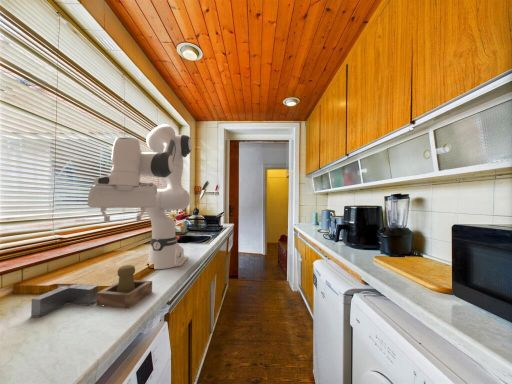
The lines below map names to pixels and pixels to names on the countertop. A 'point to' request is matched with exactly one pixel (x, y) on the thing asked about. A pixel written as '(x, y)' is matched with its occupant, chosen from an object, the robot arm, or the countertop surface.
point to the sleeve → (123, 295)
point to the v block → (63, 298)
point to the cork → (126, 279)
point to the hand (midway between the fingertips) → (123, 220)
